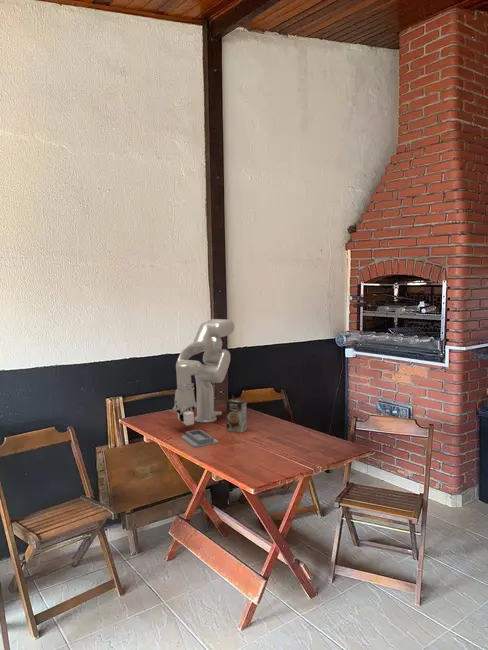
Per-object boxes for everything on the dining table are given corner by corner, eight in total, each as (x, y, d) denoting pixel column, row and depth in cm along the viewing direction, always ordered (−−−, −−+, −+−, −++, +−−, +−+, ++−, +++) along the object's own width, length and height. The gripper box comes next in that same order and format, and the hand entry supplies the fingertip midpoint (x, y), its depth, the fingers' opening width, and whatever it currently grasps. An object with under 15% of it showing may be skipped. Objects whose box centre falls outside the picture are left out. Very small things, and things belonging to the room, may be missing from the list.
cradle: (204, 433, 274) (204, 428, 273) (218, 443, 259) (218, 437, 259) (180, 438, 267) (180, 432, 267) (194, 447, 253) (194, 441, 252)
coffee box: (226, 430, 279) (225, 400, 277) (232, 427, 285) (231, 398, 283) (241, 433, 275) (241, 402, 273) (247, 429, 280) (246, 399, 279)
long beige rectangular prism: (185, 417, 286) (184, 407, 285) (194, 424, 276) (193, 413, 275) (178, 419, 284) (177, 408, 283) (186, 425, 274) (186, 414, 273)
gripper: (196, 382, 284) (197, 415, 287) (166, 387, 276) (168, 421, 279) (201, 385, 278) (203, 419, 281) (172, 390, 270) (173, 425, 273)
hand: (185, 419), depth 280 cm, fingers closed on long beige rectangular prism, 4 cm apart
